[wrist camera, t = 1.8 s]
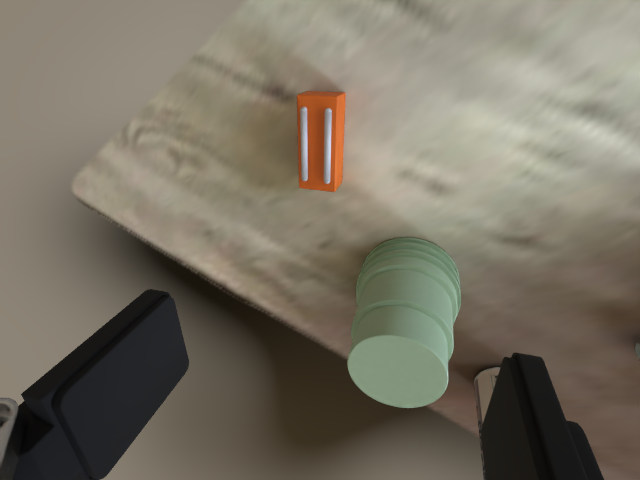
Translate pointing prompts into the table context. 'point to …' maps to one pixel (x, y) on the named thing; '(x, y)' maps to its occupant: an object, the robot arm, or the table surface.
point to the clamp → (637, 350)
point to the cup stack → (404, 322)
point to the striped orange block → (320, 139)
